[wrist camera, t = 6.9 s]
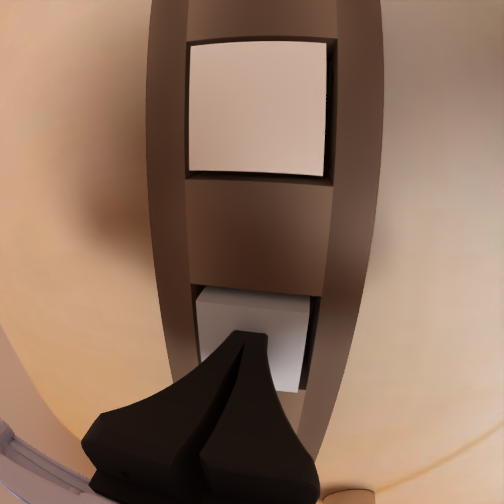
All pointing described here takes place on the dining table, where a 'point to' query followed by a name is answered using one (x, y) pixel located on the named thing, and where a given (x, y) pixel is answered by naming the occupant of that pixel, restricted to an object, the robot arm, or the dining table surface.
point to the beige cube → (258, 107)
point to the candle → (350, 497)
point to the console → (267, 189)
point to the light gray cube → (257, 326)
